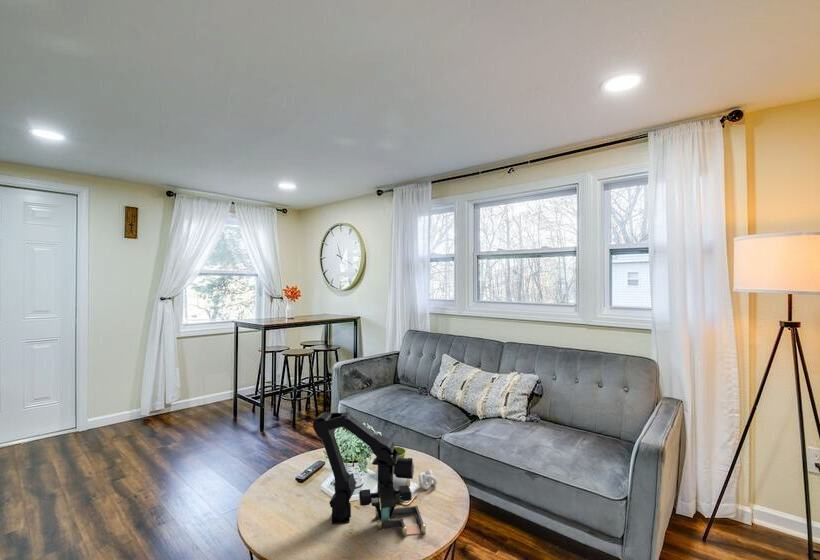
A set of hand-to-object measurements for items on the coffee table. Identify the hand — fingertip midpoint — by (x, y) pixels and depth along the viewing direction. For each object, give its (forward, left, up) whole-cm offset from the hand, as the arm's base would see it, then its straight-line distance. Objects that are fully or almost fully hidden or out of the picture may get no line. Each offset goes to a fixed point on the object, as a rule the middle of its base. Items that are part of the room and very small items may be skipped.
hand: (385, 518), depth 142 cm
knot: (+21, +21, -2) cm, 30 cm away
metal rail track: (+5, -3, -2) cm, 6 cm away
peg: (0, 0, -2) cm, 2 cm away
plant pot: (+10, +37, -2) cm, 39 cm away
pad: (+9, -6, -2) cm, 11 cm away
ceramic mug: (+8, +18, -2) cm, 20 cm away
